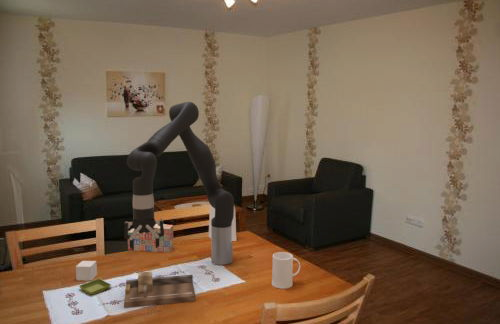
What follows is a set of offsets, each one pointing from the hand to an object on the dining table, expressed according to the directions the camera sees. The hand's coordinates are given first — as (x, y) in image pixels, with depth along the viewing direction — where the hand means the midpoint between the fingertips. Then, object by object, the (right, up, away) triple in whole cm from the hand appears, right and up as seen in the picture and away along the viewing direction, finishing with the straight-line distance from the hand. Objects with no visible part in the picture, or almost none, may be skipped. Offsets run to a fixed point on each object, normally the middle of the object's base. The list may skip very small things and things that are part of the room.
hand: (144, 248), depth 148 cm
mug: (+54, -17, +13) cm, 58 cm away
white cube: (-28, -16, +16) cm, 36 cm away
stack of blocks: (-10, -11, +49) cm, 51 cm away
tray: (+6, -18, +1) cm, 19 cm away
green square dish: (-21, -18, +6) cm, 28 cm away
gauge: (0, -16, 0) cm, 16 cm away
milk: (+24, -10, +65) cm, 70 cm away
